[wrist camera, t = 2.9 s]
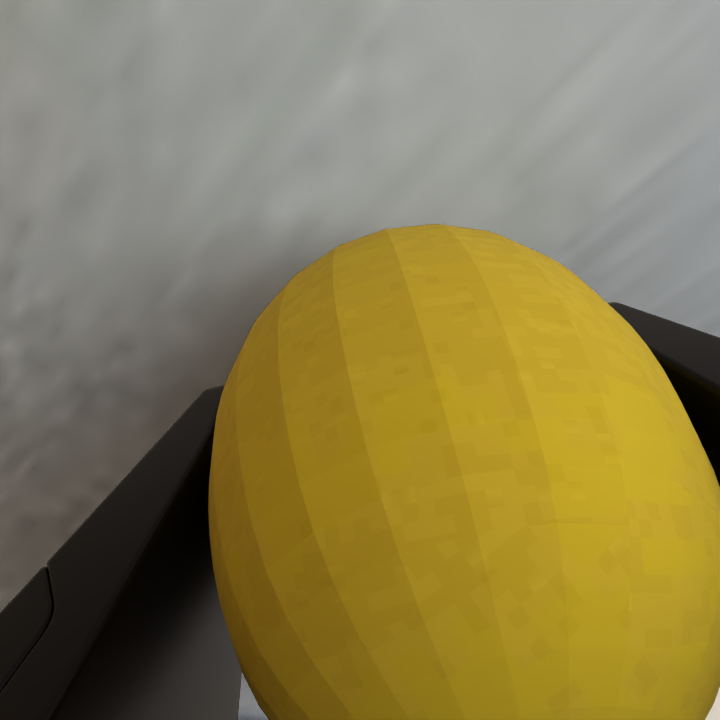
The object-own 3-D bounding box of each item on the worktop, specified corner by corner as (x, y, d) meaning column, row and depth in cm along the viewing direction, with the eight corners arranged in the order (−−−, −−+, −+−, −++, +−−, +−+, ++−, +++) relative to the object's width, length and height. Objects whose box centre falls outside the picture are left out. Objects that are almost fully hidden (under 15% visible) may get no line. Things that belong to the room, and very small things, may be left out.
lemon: (342, 447, 12) (387, 986, 6) (179, 260, 9) (-141, 971, 3) (570, 339, 11) (974, 874, 4) (470, 79, 8) (1339, 577, 1)
